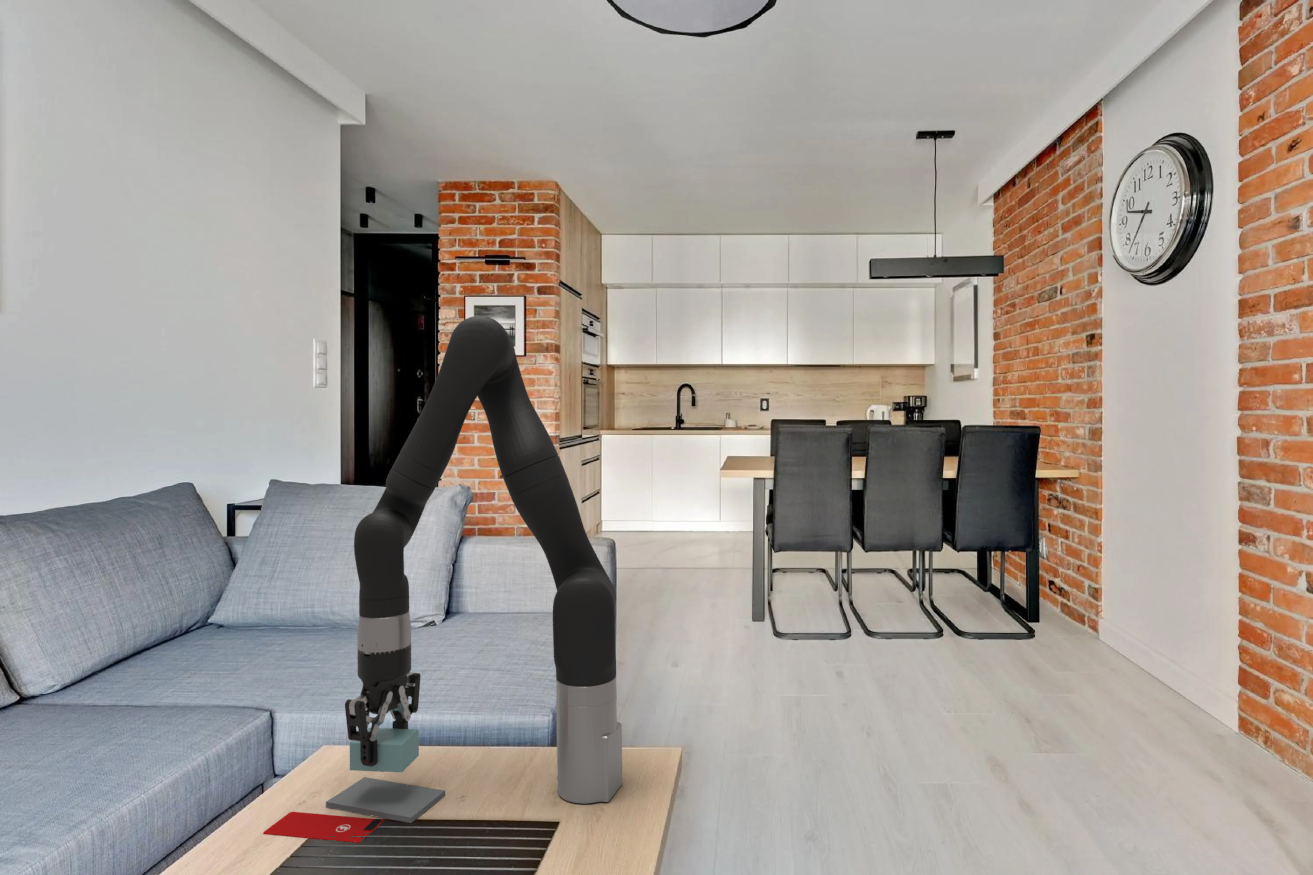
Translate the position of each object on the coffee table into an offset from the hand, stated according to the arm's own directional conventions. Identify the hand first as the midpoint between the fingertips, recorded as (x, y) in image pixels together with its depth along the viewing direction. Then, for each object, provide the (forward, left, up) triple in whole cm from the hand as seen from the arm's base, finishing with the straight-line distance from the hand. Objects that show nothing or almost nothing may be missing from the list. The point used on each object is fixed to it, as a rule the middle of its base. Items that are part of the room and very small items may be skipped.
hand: (385, 754), depth 105 cm
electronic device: (+3, +8, -8) cm, 12 cm away
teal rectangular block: (0, 0, -1) cm, 1 cm away
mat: (0, 0, -7) cm, 7 cm away
